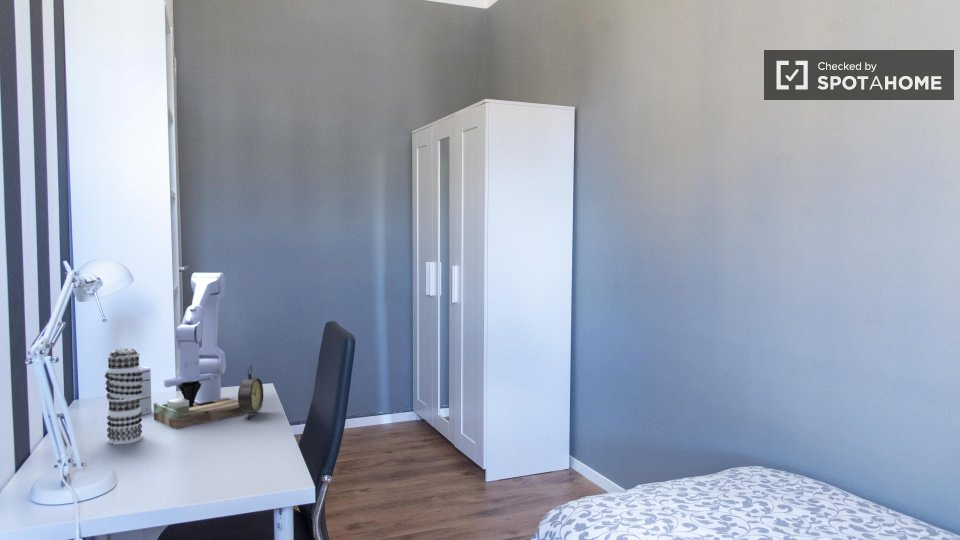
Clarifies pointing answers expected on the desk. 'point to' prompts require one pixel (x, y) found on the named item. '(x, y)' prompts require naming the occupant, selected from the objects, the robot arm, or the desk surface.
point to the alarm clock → (250, 395)
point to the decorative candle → (124, 396)
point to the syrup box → (145, 390)
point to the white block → (177, 403)
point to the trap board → (196, 412)
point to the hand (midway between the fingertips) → (189, 406)
